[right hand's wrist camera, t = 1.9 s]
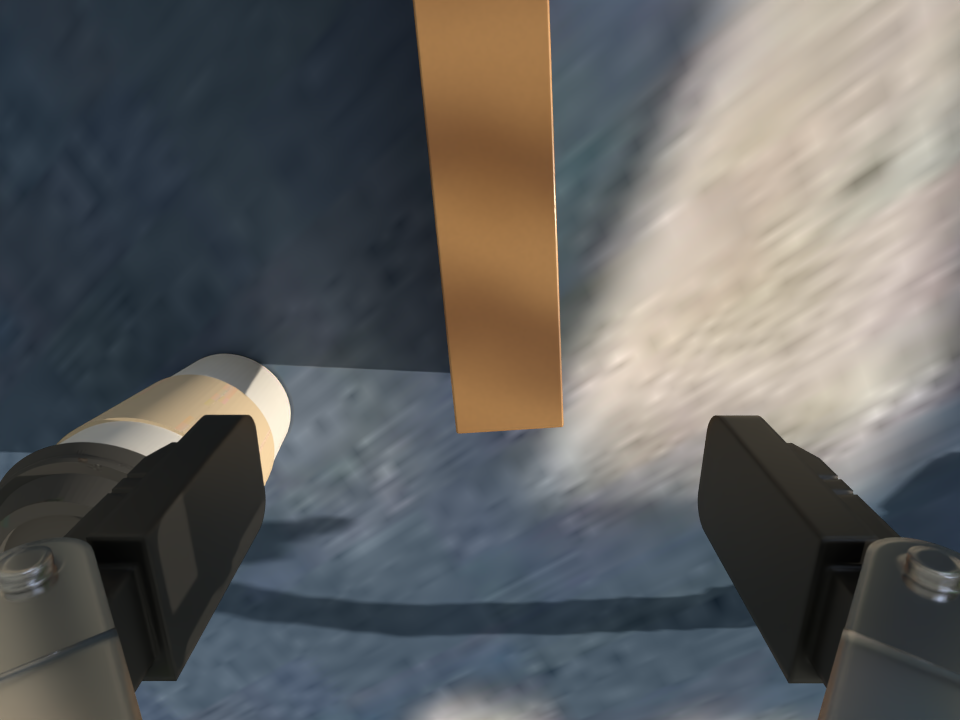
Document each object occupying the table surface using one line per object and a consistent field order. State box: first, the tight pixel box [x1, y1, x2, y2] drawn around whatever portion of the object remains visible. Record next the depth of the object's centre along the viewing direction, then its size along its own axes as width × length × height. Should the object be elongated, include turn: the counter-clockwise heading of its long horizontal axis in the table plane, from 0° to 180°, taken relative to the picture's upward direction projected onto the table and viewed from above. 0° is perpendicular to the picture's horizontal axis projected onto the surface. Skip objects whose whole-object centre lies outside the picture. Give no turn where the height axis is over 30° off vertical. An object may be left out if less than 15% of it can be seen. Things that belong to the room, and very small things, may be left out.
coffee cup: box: [0, 354, 291, 553], centre depth 29 cm, size 9×9×15 cm
